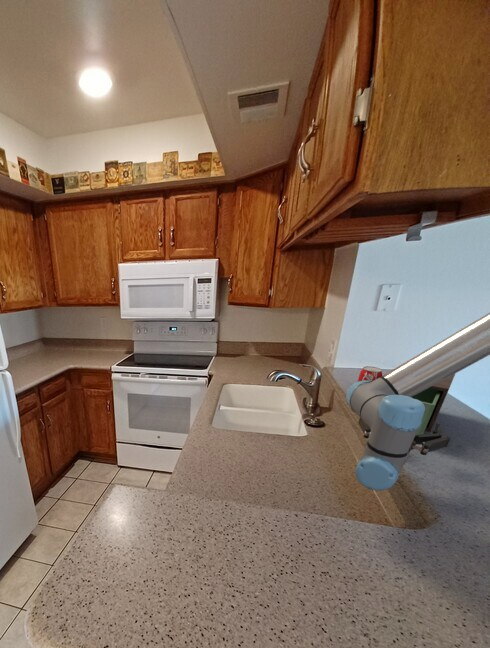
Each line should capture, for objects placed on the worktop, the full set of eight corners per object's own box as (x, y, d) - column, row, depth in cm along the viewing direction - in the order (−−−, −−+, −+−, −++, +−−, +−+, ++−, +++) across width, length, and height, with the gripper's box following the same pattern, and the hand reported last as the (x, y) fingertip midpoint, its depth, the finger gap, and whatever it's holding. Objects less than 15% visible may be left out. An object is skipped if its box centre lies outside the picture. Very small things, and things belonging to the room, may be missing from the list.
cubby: (430, 432, 104) (449, 389, 97) (387, 420, 111) (401, 380, 104) (438, 412, 117) (455, 373, 110) (399, 403, 124) (413, 366, 117)
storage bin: (420, 439, 97) (435, 405, 92) (386, 429, 103) (397, 397, 97) (429, 419, 109) (442, 388, 104) (398, 412, 114) (409, 382, 109)
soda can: (358, 396, 130) (367, 364, 124) (376, 402, 125) (387, 369, 118) (348, 400, 127) (357, 367, 120) (366, 406, 121) (377, 372, 115)
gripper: (331, 445, 87) (355, 419, 101) (448, 483, 72) (457, 447, 86) (338, 419, 84) (362, 396, 97) (463, 454, 69) (469, 421, 83)
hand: (406, 420), depth 92 cm, fingers open, 13 cm apart
